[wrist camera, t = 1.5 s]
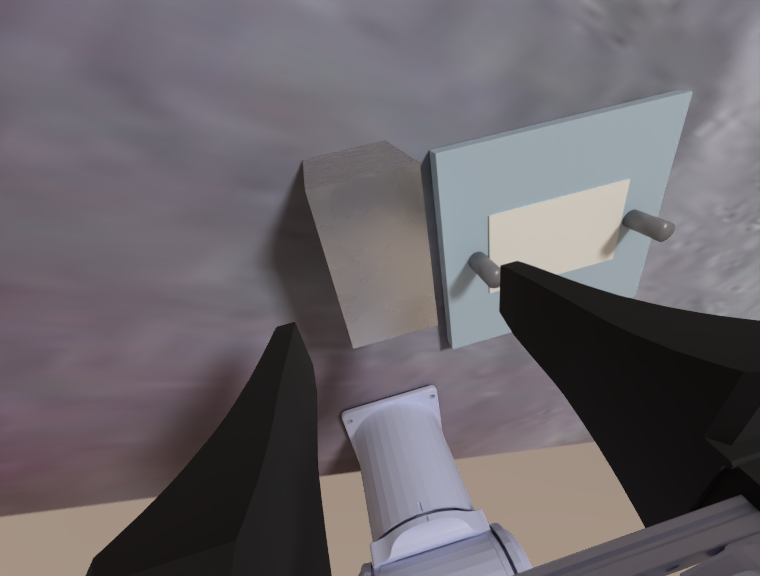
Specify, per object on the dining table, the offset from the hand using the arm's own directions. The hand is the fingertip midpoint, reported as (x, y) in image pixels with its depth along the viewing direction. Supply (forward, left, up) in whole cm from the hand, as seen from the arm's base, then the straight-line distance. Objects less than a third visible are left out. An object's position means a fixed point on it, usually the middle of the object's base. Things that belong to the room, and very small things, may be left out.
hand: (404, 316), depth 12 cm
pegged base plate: (-4, -12, -10) cm, 16 cm away
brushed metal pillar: (0, 0, -10) cm, 10 cm away
